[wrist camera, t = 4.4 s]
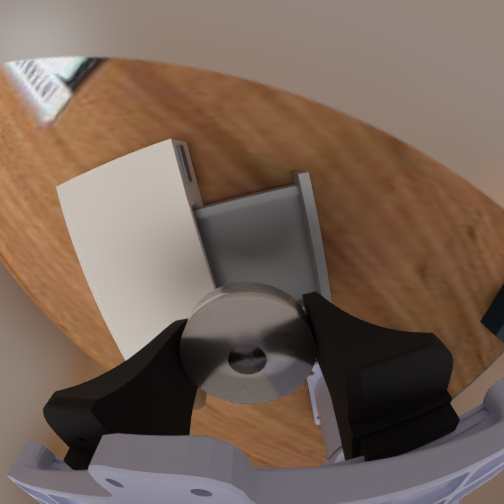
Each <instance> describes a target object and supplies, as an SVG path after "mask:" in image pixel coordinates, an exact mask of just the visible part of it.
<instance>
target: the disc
mask: <svg viewBox="0 0 504 504" xmlns="http://www.w3.org/2000/svg"><path fill="white" fill-rule="evenodd" d="M179 352H180V359H181V363H182V365H183V368H184V370H185V371H186V373H187V375H188V376H189V377H190V379H191V380H192V381H193V382H194V383H195V384H196V385H197V386H198V387H200V388H201V389H202V390H204V391H205V392H207V393H208V394H210V395H212V396H214V397H216V398H219V399H222V400H225V401H229V402H233V403H240V404H258V403H265V402H270V401H273V400H276V399H279V398H282V397H284V396H286V395H288V394H290V393H291V392H293V391H294V390H296V389H297V388H298V387H299V386H300V385H301V384H303V382H304V381H305V380H306V379H307V378H308V376H309V375H310V373H311V371H312V369H313V367H314V363H315V360H316V345H315V341H314V337H313V334H312V331H311V327H310V324H309V321H308V318H307V315H306V313H305V311H304V310H303V308H302V307H301V305H300V304H299V303H298V302H297V301H296V300H295V299H294V298H293V297H292V296H290V295H289V294H287V293H286V292H284V291H283V290H280V289H278V288H276V287H274V286H271V285H268V284H263V283H258V282H238V283H231V284H228V285H224V286H221V287H219V288H217V289H215V290H213V291H211V292H209V293H208V294H207V295H205V296H204V297H203V298H202V299H201V300H200V301H199V302H198V303H197V304H196V306H195V307H194V308H193V310H192V312H191V314H190V316H189V319H188V321H187V324H186V326H185V329H184V331H183V334H182V337H181V340H180V347H179Z"/></svg>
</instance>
